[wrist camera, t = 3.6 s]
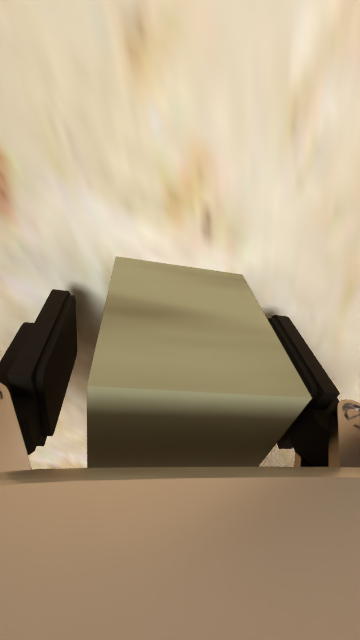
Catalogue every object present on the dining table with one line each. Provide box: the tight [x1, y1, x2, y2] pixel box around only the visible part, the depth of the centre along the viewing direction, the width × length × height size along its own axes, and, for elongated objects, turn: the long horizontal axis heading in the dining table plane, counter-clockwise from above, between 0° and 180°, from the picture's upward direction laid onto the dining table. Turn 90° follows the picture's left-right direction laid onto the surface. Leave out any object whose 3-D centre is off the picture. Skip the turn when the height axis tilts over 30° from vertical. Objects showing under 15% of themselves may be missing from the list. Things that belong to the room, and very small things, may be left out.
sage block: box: [87, 257, 312, 468], centre depth 10 cm, size 5×5×6 cm
